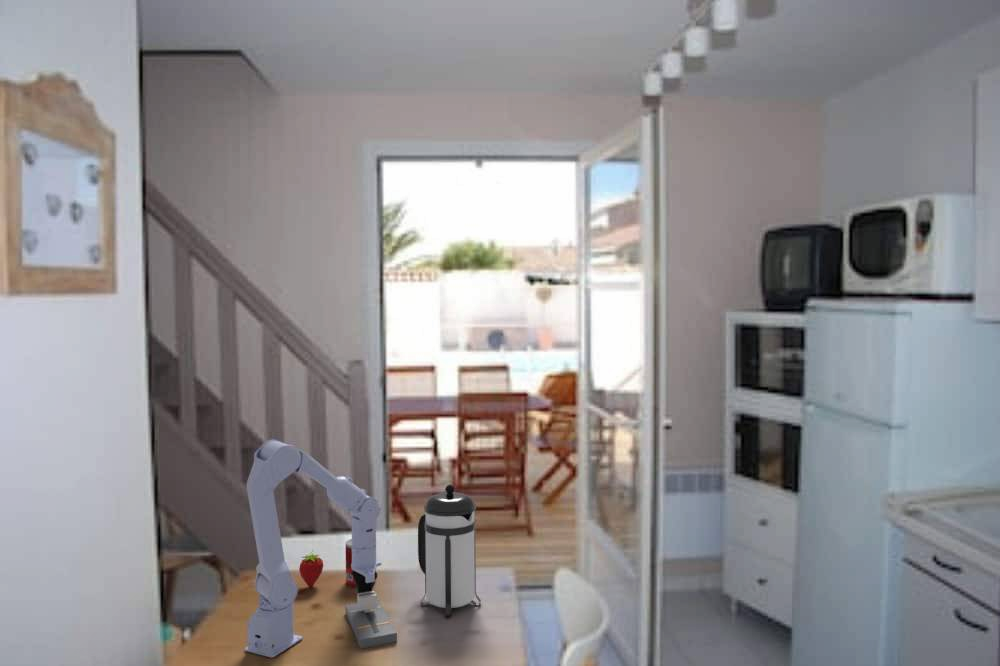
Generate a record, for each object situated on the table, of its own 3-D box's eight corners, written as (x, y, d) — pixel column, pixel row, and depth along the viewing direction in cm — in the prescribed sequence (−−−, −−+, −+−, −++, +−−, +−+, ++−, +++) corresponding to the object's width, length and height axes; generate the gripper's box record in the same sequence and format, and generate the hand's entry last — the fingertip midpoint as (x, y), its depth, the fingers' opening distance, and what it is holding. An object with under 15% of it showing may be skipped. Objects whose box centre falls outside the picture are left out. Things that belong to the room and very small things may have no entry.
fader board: (397, 641, 148) (396, 632, 148) (360, 648, 145) (360, 639, 145) (378, 607, 166) (378, 599, 166) (345, 613, 163) (345, 604, 163)
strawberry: (327, 581, 183) (327, 545, 182) (316, 593, 175) (316, 554, 175) (306, 580, 183) (306, 544, 183) (295, 592, 176) (294, 554, 176)
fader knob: (377, 612, 158) (376, 595, 158) (359, 615, 157) (359, 597, 157) (374, 607, 161) (374, 590, 161) (357, 610, 159) (357, 592, 159)
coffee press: (484, 592, 175) (484, 477, 174) (476, 619, 159) (475, 493, 158) (419, 590, 177) (418, 475, 176) (404, 617, 161) (403, 491, 160)
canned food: (372, 587, 178) (372, 546, 178) (342, 587, 179) (342, 546, 178) (378, 576, 186) (378, 537, 186) (349, 576, 186) (349, 537, 186)
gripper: (387, 552, 156) (388, 610, 156) (374, 534, 169) (374, 587, 170) (356, 557, 153) (357, 616, 154) (345, 537, 167) (346, 592, 167)
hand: (364, 601), depth 161 cm, fingers closed
